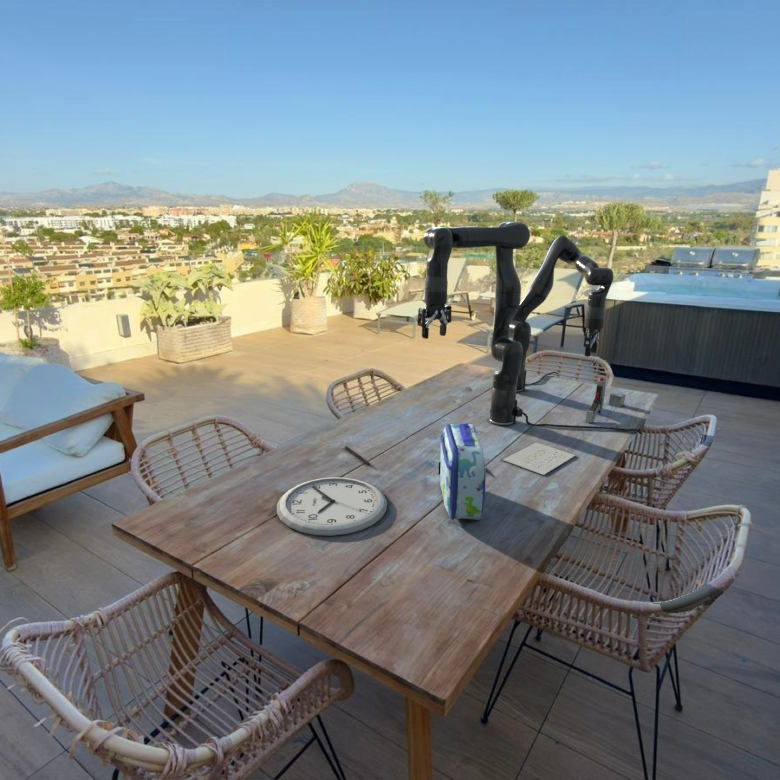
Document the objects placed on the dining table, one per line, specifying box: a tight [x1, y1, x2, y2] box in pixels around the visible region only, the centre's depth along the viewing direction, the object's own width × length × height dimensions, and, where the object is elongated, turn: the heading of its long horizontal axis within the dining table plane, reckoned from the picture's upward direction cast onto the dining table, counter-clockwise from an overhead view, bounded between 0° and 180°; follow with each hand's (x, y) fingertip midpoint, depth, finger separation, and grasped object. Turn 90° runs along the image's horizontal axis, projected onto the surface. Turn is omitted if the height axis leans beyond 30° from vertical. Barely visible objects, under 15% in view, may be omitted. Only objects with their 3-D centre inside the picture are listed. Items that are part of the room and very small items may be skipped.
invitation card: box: [502, 442, 577, 476], centre depth 174 cm, size 21×1×15 cm
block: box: [608, 391, 626, 408], centre depth 229 cm, size 5×4×5 cm
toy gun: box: [585, 376, 607, 424], centre depth 210 cm, size 2×16×15 cm
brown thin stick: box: [344, 445, 370, 465], centre depth 173 cm, size 15×1×1 cm, turn 34°
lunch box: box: [438, 422, 486, 521], centre depth 142 cm, size 26×11×21 cm, turn 179°
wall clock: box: [276, 476, 388, 537], centre depth 142 cm, size 30×2×30 cm
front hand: (434, 336), depth 180 cm, fingers open, 8 cm apart
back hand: (590, 354), depth 224 cm, fingers open, 8 cm apart
